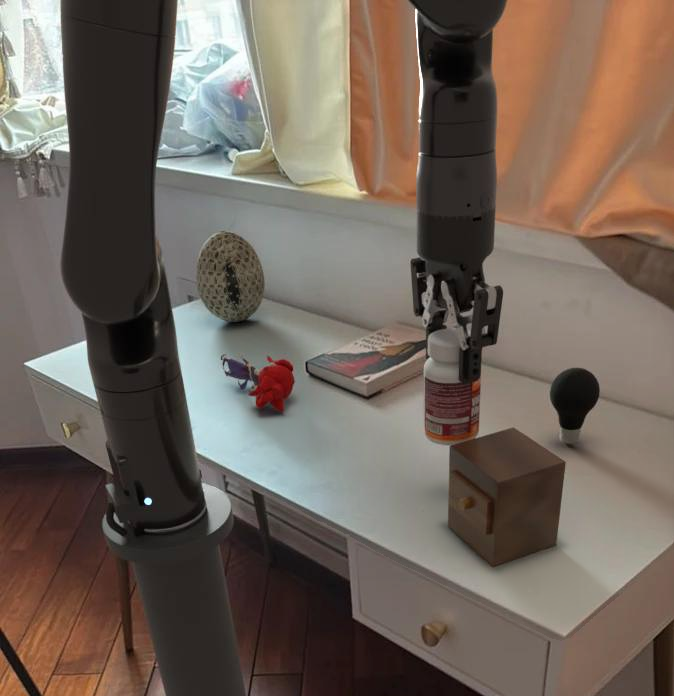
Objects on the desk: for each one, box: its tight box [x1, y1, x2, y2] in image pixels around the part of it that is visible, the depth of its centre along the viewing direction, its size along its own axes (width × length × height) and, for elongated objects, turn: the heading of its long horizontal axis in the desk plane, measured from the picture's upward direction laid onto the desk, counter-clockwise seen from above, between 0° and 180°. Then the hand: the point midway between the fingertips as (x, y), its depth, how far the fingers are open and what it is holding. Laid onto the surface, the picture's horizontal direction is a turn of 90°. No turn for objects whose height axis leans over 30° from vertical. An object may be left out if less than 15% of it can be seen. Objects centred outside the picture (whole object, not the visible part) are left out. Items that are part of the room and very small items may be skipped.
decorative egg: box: [195, 230, 266, 323], centre depth 148 cm, size 12×12×15 cm
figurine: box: [220, 354, 296, 413], centre depth 123 cm, size 6×8×15 cm
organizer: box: [447, 427, 567, 567], centre depth 89 cm, size 9×9×10 cm
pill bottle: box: [423, 327, 482, 447], centre depth 92 cm, size 6×6×11 cm
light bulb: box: [549, 367, 601, 446], centre depth 105 cm, size 6×6×10 cm
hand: (452, 370), depth 91 cm, fingers closed on pill bottle, 6 cm apart
